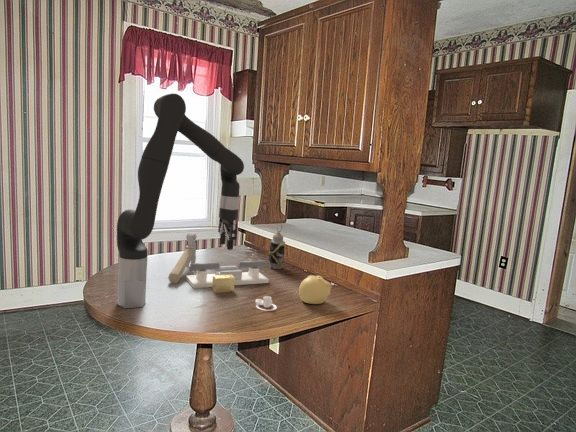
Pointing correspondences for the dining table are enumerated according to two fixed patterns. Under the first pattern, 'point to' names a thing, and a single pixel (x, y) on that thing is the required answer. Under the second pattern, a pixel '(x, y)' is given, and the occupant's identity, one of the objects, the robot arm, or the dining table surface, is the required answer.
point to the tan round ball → (314, 289)
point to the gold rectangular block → (223, 283)
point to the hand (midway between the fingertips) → (226, 246)
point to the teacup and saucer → (265, 303)
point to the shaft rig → (226, 273)
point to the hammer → (184, 259)
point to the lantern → (276, 251)
